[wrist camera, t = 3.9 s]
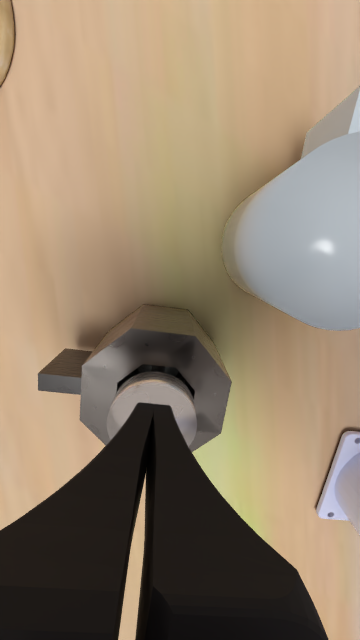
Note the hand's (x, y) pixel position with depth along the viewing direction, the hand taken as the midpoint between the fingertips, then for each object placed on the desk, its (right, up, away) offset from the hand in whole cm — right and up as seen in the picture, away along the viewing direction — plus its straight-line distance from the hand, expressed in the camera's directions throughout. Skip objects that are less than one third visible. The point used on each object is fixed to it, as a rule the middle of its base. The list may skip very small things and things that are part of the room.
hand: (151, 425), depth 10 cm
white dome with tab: (+7, +9, +5) cm, 12 cm away
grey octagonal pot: (-1, +2, +7) cm, 7 cm away
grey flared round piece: (0, +2, +6) cm, 6 cm away
